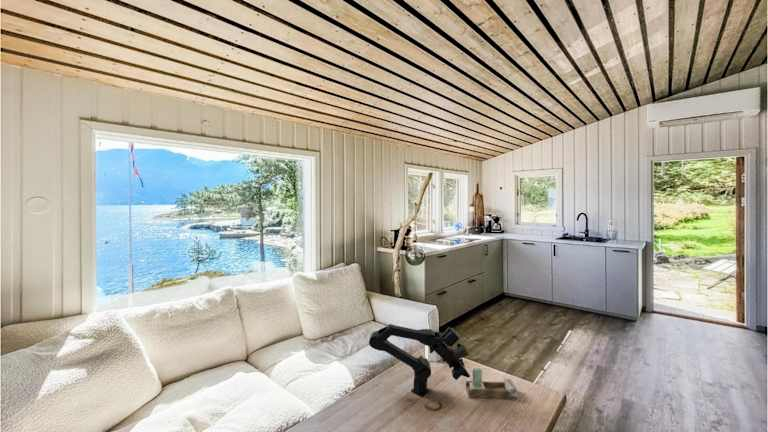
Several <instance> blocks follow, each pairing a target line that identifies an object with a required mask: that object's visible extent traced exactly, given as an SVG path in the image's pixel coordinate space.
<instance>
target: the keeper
mask: <svg viewBox="0 0 768 432" xmlns="http://www.w3.org/2000/svg"><path fill="white" fill-rule="evenodd" d="M472 381H473V382H470V389H475V390H485V387H484V385H483V383H482V381H483V371H482V369H481V368H480V367H473V368H472Z"/></svg>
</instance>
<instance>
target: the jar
mask: <svg viewBox="0 0 768 432" xmlns="http://www.w3.org/2000/svg"><path fill="white" fill-rule="evenodd" d="M436 338H438V337H436ZM424 348H425V349H424V350H425V351H424V352H425V355H424V358H425V359H428V362H433V363H436V362H438V361H441V360H442V358H441V357H440V356H439V355H438V354H437V353H436V352H435V351H433V352H432V353H430V348H429V346H427V345H424Z"/></svg>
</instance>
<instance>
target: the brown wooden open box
mask: <svg viewBox="0 0 768 432" xmlns="http://www.w3.org/2000/svg"><path fill="white" fill-rule="evenodd" d="M503 380H504V381H485V380H484V381H483V380H482V383H483V385H484V387H485V390H475V389H470V382H473V380H465V390H466V393H467V396H468V399H476V400H477V399H481V400H483V399H484V400H507V401H509V400H510V401H511V400H513V401H517V400H518V396H517V395H518V394H517V391H518V390H517V388H516V386H515V384H514V382H513V381H512V379H511V378H504V379H503Z"/></svg>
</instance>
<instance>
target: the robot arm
mask: <svg viewBox="0 0 768 432" xmlns="http://www.w3.org/2000/svg"><path fill="white" fill-rule="evenodd" d="M392 336H393V337H399V338H403V339H408V340H412V341H417V342H419V343H420V344H423V345H424V346H425V345H427V346H429V348H430V353H432V352H433V351H435V352H436V353H437V354H438V355H439V356H440V357H441V360H442V362H443V363H446V364H447V365H448V368H450V369H451V375H452V378H453V379H454V380H455V381H458V379H459V378H460V377H461V376H462V377H466V378H470V377H471V375H470V373H469V372H468V370H467V369H466V367H465V362H464V361H463V358H464V357H467V356H469V352H468V350H467V348H466V346H465V345H464V344H462V343H461V342H458V341H459V340H460V339H461V336H460V334H459V333H458V332H457V331H456V330H455V329H454V328H451V326H448V327H447V328H446V330H445V331H444V332H443V333H442V332H439V331H434V330H433V329H431V328H430V329H429V328H422V329H414V328H411V327H410V328H409V327H404V326H399V325H396V324H395V325H394V324H391V323H390V324H387V325H386V326H384V327H381V328H380V329H378V330H375V331H372V332H371V334H370V336H369V339H368V340H369V341H368V345H369V347H371V349H373V350H377V351H378V352H379V351H380V352H385V353H387V354H388V355H391V356H392V357H394V358H395V359H397V360H399V361H401V362H402V363H404V364H405V365H407V367H408V366H409V367H410V368H411V369H412V370H413V375H414V376H413V388H412V389H411V390H410V392H411V393H413V394H415V395H417V396H420V397H424V396H426V394H428V393H430V392H431V389H430V388H428V379H429V378H430V377H431V376H432V367H431V363H430V361H428V359H426V357H423V356H422V355H419V357H416V356H413V355H412V354H410V353H409V352H407V351H405V350H404V349H402V348H400V347H398V346H397V345H395V344H394V343H392V342H390V341H389V340H388V339H389V338H390V337H392ZM436 337H438V338H436ZM455 344H456V345H455ZM454 345H455V348H454V349H453V348H452V347H453V346H454Z"/></svg>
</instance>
